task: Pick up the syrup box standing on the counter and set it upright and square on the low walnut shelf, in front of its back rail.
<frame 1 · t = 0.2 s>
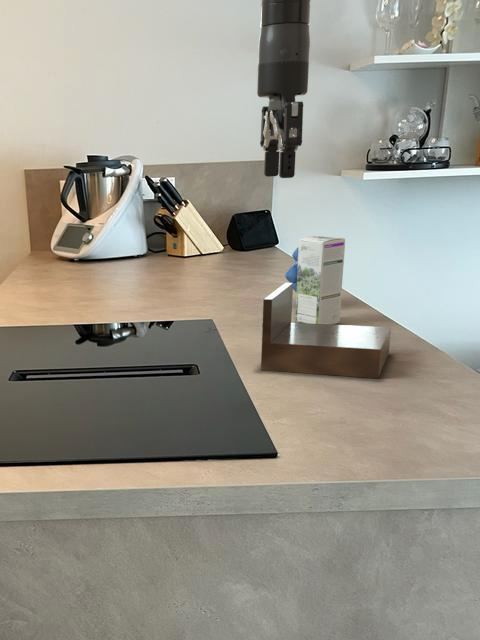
hand: (278, 177, 124), 25 cm above the countertop, tool pointing down, fingers open, 8 cm apart
syrup box: (316, 324, 139), on the countertop
grapes: (299, 306, 153), on the countertop
shelf: (326, 361, 114), on the countertop
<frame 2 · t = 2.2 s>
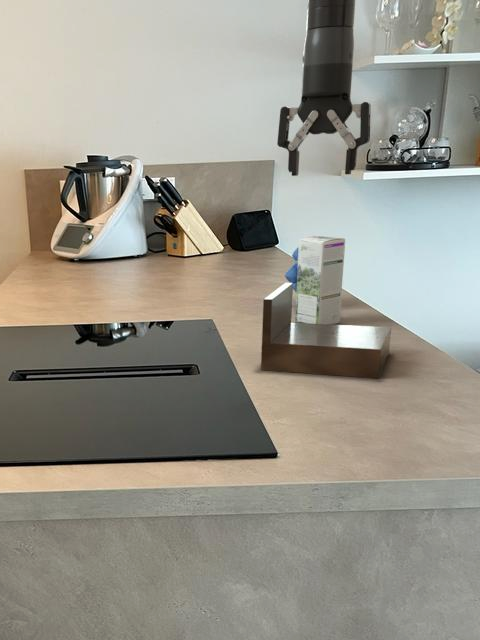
hand: (321, 174, 128), 24 cm above the countertop, tool pointing down, fingers open, 8 cm apart
nothing on the countertop moved.
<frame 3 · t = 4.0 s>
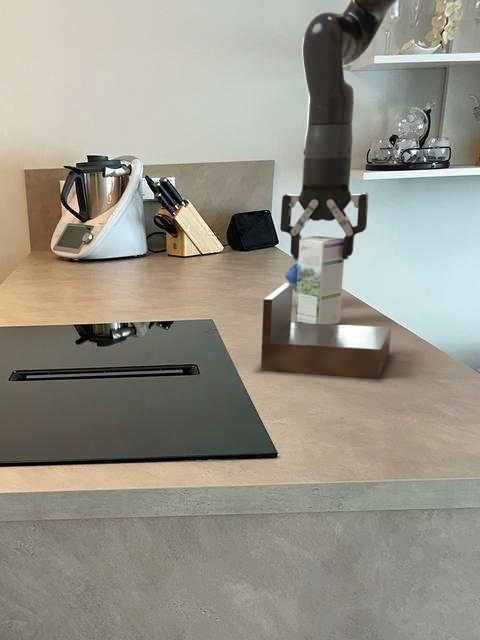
hand: (320, 258, 134), 11 cm above the countertop, tool pointing down, fingers closed on syrup box, 7 cm apart
syrup box: (316, 324, 139), on the countertop, touching gripper
everything else where it was.
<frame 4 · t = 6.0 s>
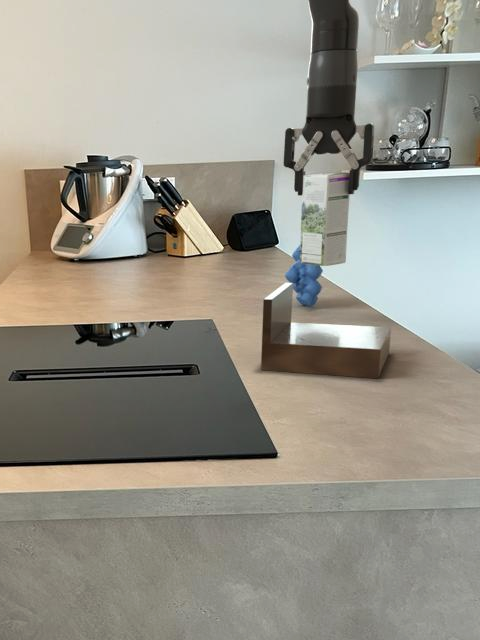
hand: (325, 194, 130), 21 cm above the countertop, tool pointing down, fingers closed on syrup box, 7 cm apart
syrup box: (322, 264, 134), point 10 cm above the countertop, touching gripper
everything else where it was.
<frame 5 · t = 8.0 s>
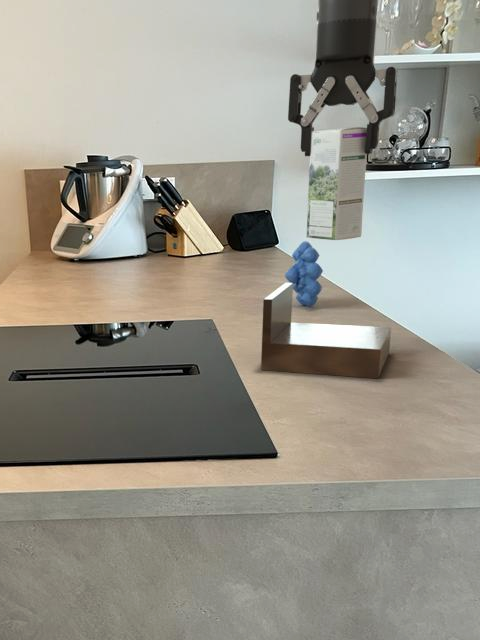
hand: (338, 154, 109), 28 cm above the countertop, tool pointing down, fingers closed on syrup box, 7 cm apart
syrup box: (333, 239, 114), point 17 cm above the countertop, touching gripper
everything else where it was.
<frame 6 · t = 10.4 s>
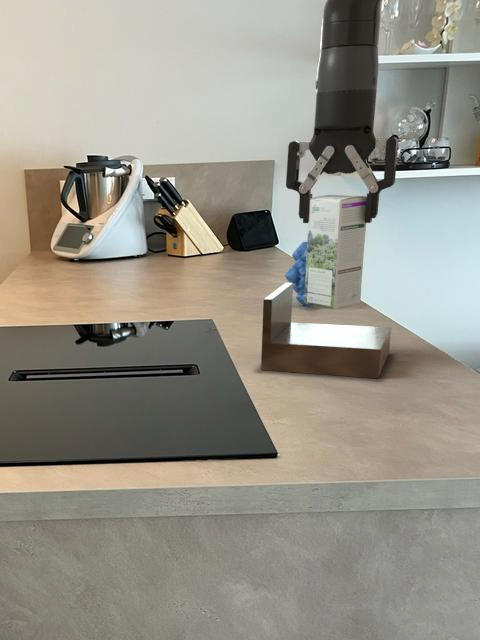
hand: (336, 222, 107), 19 cm above the countertop, tool pointing down, fingers closed on syrup box, 7 cm apart
syrup box: (331, 305, 111), point 8 cm above the countertop, touching gripper
everything else where it was.
when the fingers open (15 cm above the countertop, at t = 12.2 s): syrup box stays where it is, resting on shelf.
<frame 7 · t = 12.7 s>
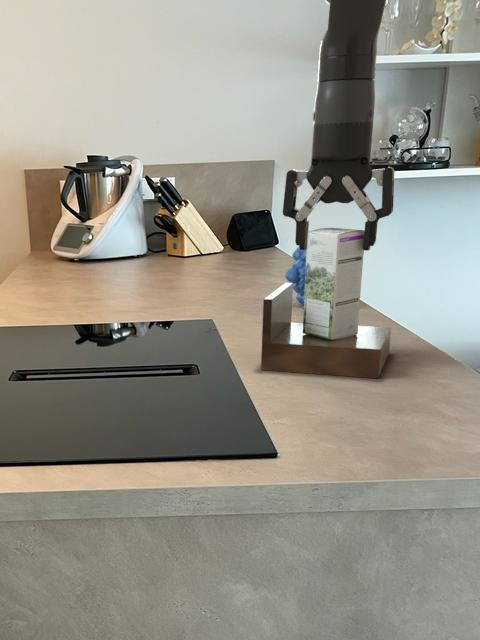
hand: (334, 249, 108), 16 cm above the countertop, tool pointing down, fingers open, 8 cm apart
syrup box: (329, 336, 113), point 4 cm above the countertop, touching shelf
everything else where it was.
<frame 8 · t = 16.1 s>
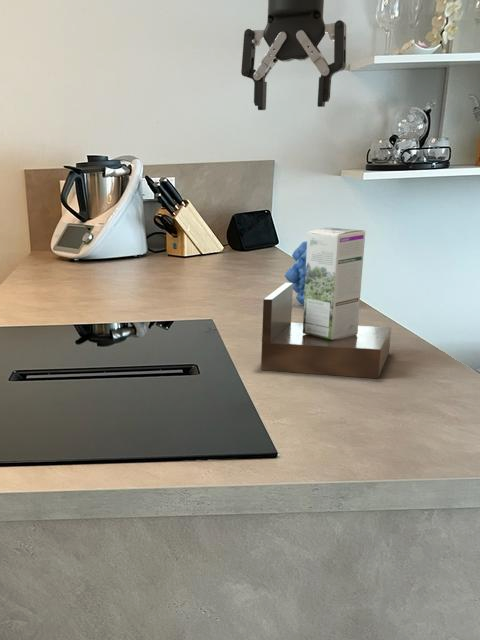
hand: (290, 108, 113), 34 cm above the countertop, tool pointing down, fingers open, 8 cm apart
nothing on the countertop moved.
at the end: syrup box 0.2 cm off-centre on the shelf, point 3.8 cm above the shelf's base; syrup box tilted 0° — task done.
